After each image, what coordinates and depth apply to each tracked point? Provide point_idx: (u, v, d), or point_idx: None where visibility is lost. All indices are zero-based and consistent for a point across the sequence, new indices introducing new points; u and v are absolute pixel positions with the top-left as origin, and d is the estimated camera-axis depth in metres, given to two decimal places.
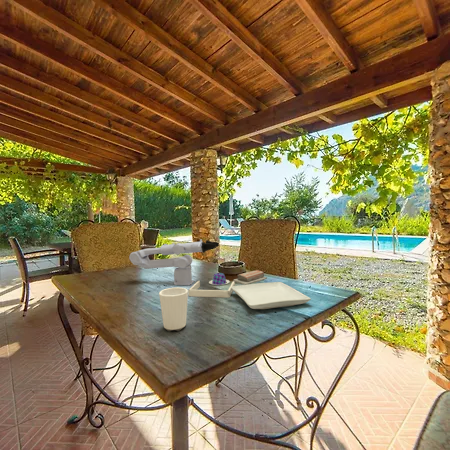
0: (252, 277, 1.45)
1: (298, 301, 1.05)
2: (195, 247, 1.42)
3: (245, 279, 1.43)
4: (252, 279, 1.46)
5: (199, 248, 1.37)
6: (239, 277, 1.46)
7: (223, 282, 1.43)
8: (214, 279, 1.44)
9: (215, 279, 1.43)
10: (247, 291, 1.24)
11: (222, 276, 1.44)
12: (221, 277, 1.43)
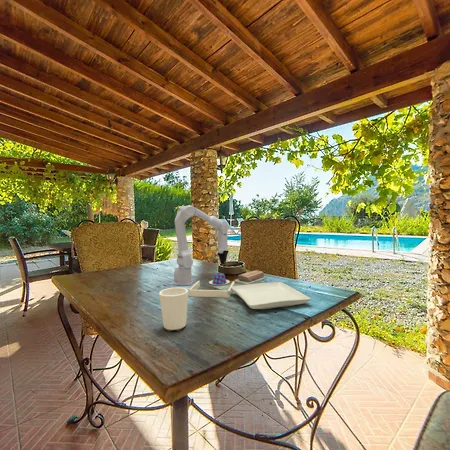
0: (253, 277, 1.45)
1: (298, 301, 1.05)
2: (222, 244, 1.56)
3: (246, 279, 1.43)
4: (253, 279, 1.45)
5: (220, 251, 1.52)
6: (240, 277, 1.45)
7: (223, 282, 1.43)
8: (214, 279, 1.44)
9: (215, 279, 1.43)
10: (247, 291, 1.24)
11: (222, 276, 1.44)
12: (221, 277, 1.43)
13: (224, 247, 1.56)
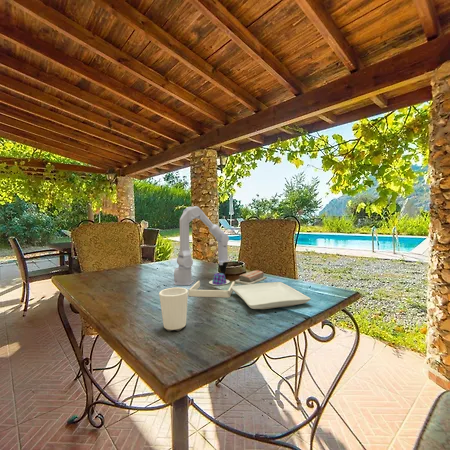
0: (254, 277, 1.45)
1: (298, 301, 1.05)
2: (222, 256, 1.56)
3: (248, 279, 1.42)
4: (254, 279, 1.45)
5: (220, 263, 1.52)
6: (241, 278, 1.45)
7: (223, 282, 1.44)
8: (214, 279, 1.44)
9: (215, 279, 1.43)
10: (247, 291, 1.24)
11: (222, 276, 1.44)
12: (221, 277, 1.43)
13: (224, 259, 1.56)
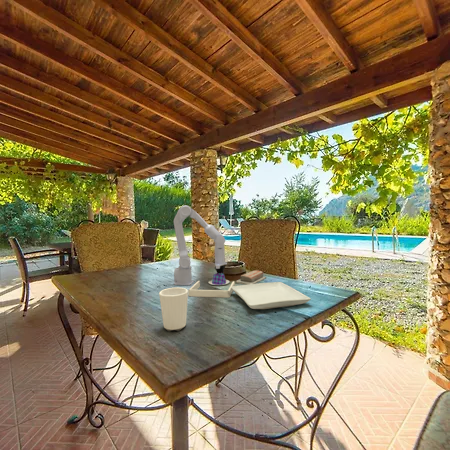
0: (255, 277, 1.45)
1: (298, 301, 1.05)
2: (219, 259, 1.46)
3: (249, 280, 1.42)
4: (255, 279, 1.45)
5: (217, 267, 1.42)
6: (242, 278, 1.44)
7: (223, 282, 1.43)
8: (214, 279, 1.43)
9: (215, 279, 1.42)
10: (247, 291, 1.24)
11: (222, 276, 1.43)
12: (221, 277, 1.42)
13: (221, 262, 1.47)
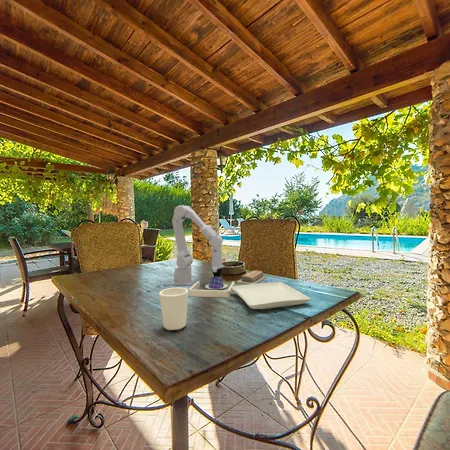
0: (256, 277, 1.45)
1: (298, 301, 1.05)
2: (216, 262, 1.39)
3: (250, 280, 1.42)
4: (256, 279, 1.45)
5: (214, 270, 1.34)
6: (243, 278, 1.43)
7: (221, 286, 1.35)
8: (211, 283, 1.35)
9: (213, 283, 1.34)
10: (247, 291, 1.24)
11: (220, 279, 1.35)
12: (219, 281, 1.35)
13: (218, 265, 1.39)
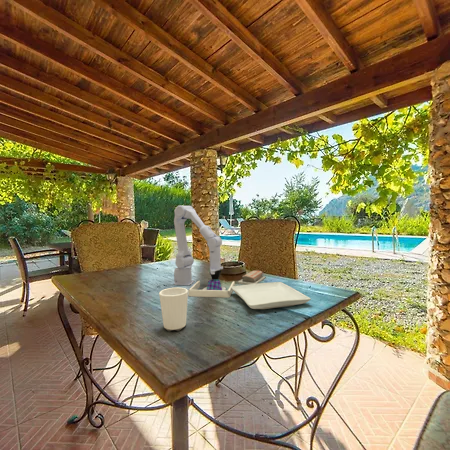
0: (256, 277, 1.45)
1: (298, 301, 1.05)
2: (214, 263, 1.34)
3: (251, 280, 1.41)
4: (256, 279, 1.45)
5: (212, 272, 1.30)
6: (244, 278, 1.43)
7: (220, 289, 1.31)
8: (210, 286, 1.30)
9: (211, 286, 1.30)
10: (247, 291, 1.24)
11: (218, 282, 1.31)
12: (217, 284, 1.30)
13: (216, 266, 1.34)
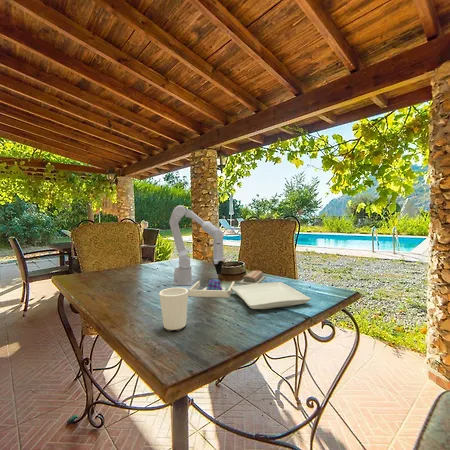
0: (257, 277, 1.45)
1: (298, 301, 1.05)
2: (217, 254, 1.46)
3: (253, 280, 1.41)
4: (257, 279, 1.45)
5: (215, 262, 1.42)
6: (245, 278, 1.42)
7: (220, 289, 1.31)
8: (210, 286, 1.30)
9: (211, 286, 1.30)
10: (247, 291, 1.24)
11: (218, 282, 1.31)
12: (218, 283, 1.30)
13: (219, 257, 1.46)
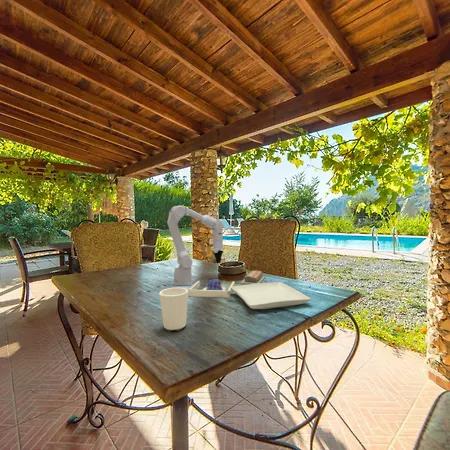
0: (258, 277, 1.45)
1: (298, 301, 1.05)
2: (217, 244, 1.52)
3: (254, 280, 1.41)
4: (258, 279, 1.45)
5: (215, 251, 1.47)
6: (247, 279, 1.42)
7: (220, 289, 1.31)
8: (210, 286, 1.30)
9: (211, 286, 1.29)
10: (247, 291, 1.24)
11: (219, 282, 1.31)
12: (218, 283, 1.30)
13: (219, 246, 1.52)
